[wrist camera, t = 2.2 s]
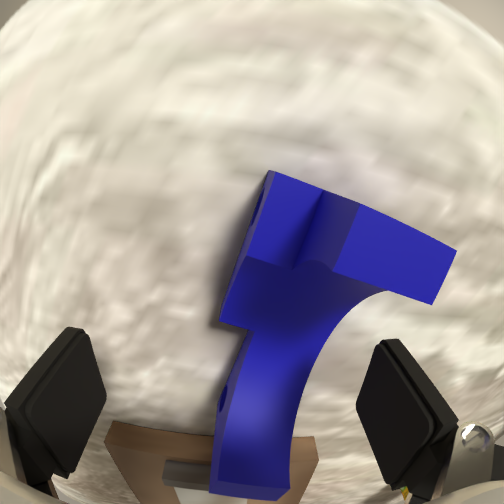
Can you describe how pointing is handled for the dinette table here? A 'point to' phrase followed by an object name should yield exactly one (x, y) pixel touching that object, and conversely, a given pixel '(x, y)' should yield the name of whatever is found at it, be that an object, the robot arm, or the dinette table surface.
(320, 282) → the blue curved piece
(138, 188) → the dinette table surface
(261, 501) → the rail board
